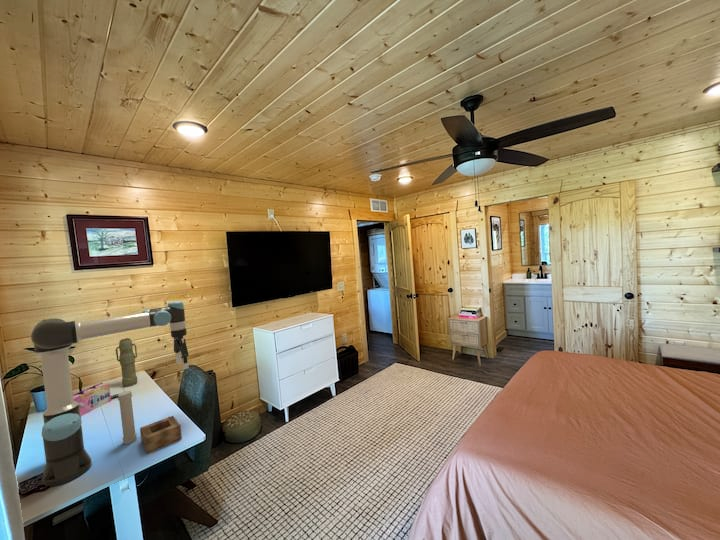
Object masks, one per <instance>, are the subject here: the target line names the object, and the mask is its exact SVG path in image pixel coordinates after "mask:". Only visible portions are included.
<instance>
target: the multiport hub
mask: <svg viewBox="0 0 720 540" xmlns="http://www.w3.org/2000/svg"><path fill="white" fill-rule="evenodd" d="M118 394H119V393H116V394H113V395H111V401H112V400H115V399H118Z"/></svg>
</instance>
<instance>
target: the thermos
mask: <svg viewBox="0 0 720 540" xmlns="http://www.w3.org/2000/svg"><path fill="white" fill-rule="evenodd" d="M133 347H134V350H133ZM118 350H119V352H118ZM137 350H138V349H137V345H136V344H135V343H133V341H132V340H131V338H128V337H127V338H123V339H120V340H119V343H118V346H117V347H116V348H115V356H116V361H117V362H118V363H119V364H120V367H121V375H122V378H121V385H122V386H123V387H122V388H130V387H134V386H135V385H136V386H137V384H138V375H137V372H136V365H135V362H136V358H138V352H137Z"/></svg>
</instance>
